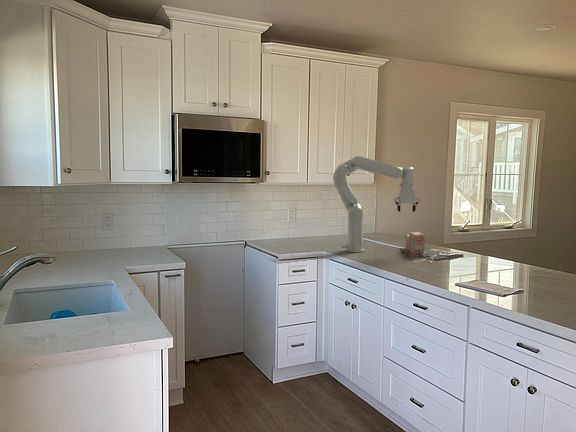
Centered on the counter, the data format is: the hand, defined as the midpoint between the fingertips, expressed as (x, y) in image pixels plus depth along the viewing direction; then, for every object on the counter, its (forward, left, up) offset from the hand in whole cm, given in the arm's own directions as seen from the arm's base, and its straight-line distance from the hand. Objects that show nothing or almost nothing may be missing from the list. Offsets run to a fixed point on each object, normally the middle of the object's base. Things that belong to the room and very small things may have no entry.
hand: (406, 211), depth 309 cm
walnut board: (+4, -8, -27) cm, 28 cm away
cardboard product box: (+4, -7, -26) cm, 27 cm away
